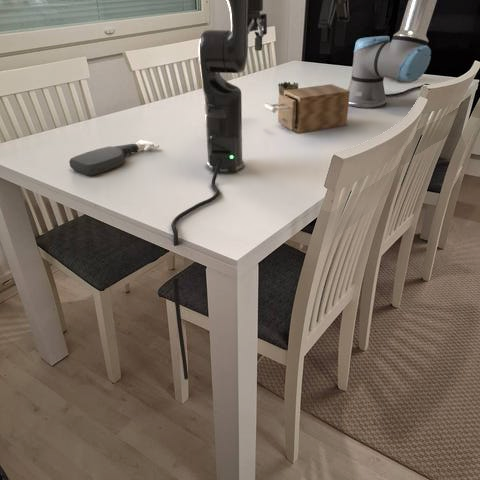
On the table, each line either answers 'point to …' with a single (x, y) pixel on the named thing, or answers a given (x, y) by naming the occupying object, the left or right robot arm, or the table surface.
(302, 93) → the cabinet
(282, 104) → the drawer
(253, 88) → the table surface
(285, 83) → the cup
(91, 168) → the spray bottle
